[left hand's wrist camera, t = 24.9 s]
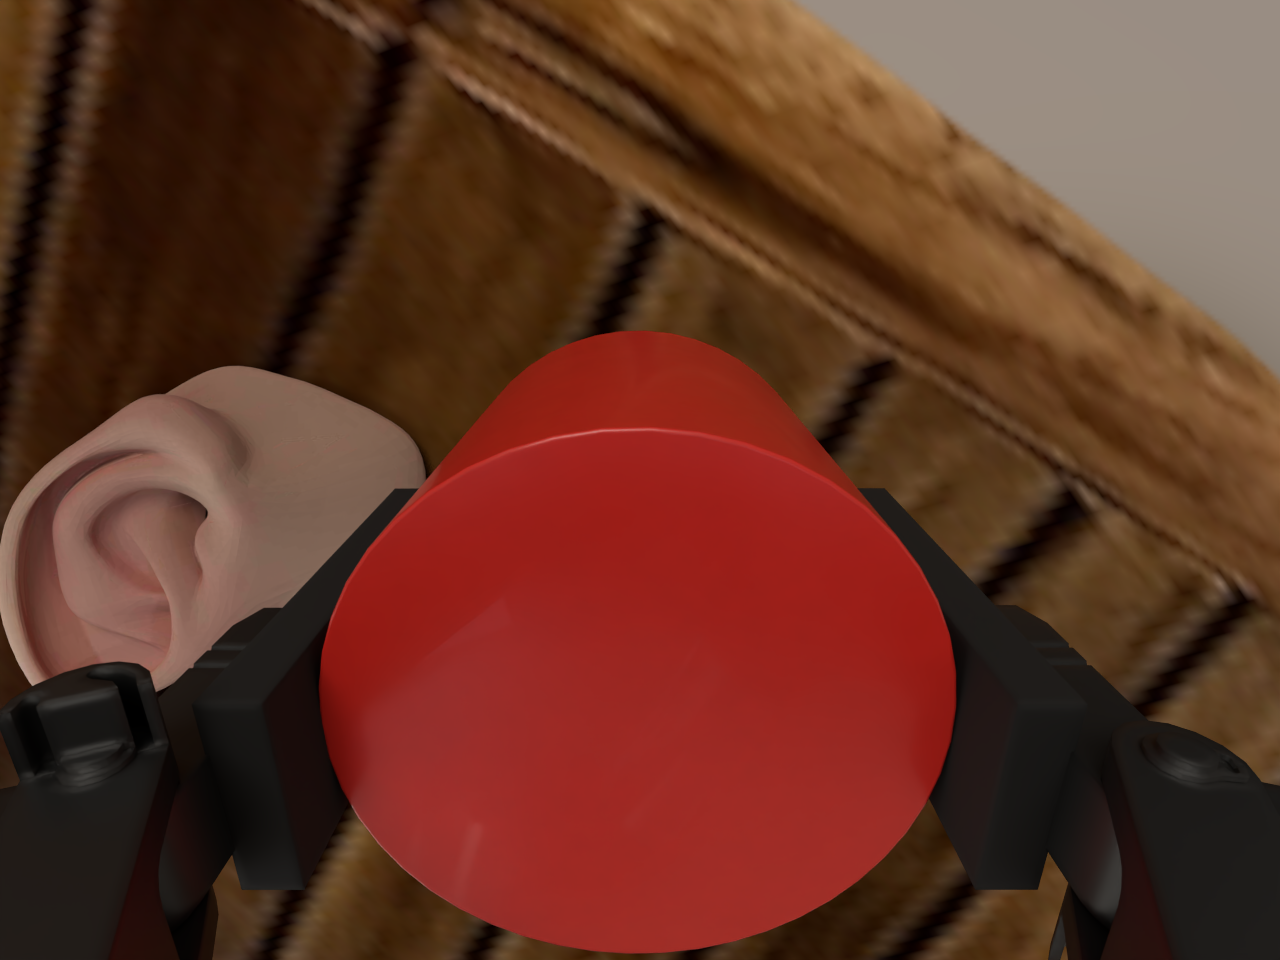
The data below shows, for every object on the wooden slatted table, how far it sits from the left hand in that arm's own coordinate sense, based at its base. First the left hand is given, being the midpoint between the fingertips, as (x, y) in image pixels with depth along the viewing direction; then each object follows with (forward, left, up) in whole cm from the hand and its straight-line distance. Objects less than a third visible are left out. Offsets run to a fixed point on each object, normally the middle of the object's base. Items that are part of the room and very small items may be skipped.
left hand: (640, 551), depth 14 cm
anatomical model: (-10, +11, -10) cm, 18 cm away
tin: (0, 0, -2) cm, 2 cm away
